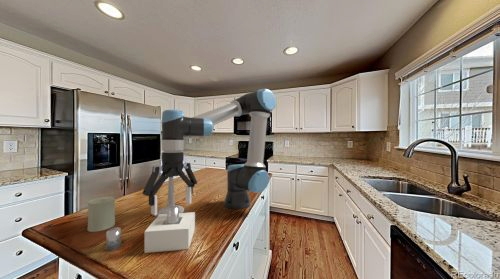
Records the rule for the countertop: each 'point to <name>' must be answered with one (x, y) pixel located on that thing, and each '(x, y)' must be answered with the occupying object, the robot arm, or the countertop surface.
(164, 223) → the hole block
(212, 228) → the countertop surface
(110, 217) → the can
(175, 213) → the long pin
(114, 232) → the short pin
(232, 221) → the countertop surface
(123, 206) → the countertop surface
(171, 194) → the candlestick
